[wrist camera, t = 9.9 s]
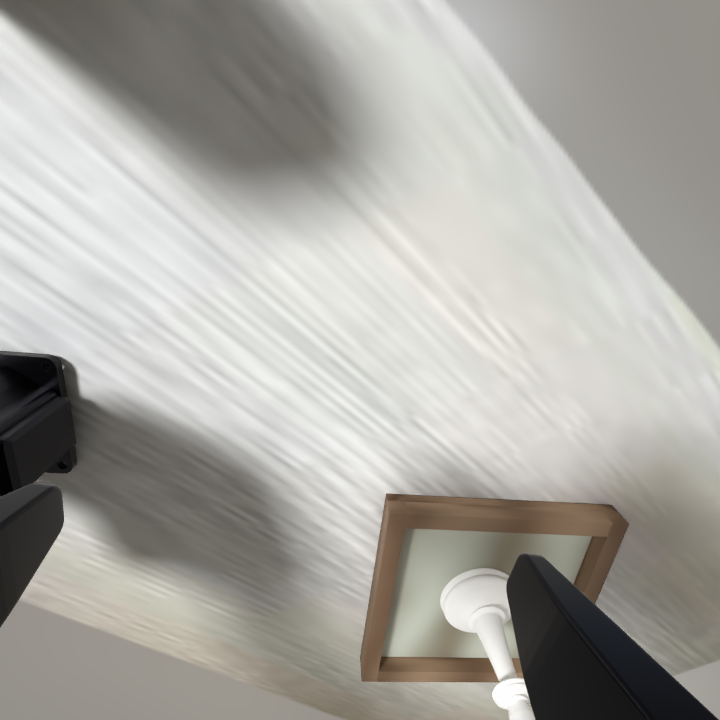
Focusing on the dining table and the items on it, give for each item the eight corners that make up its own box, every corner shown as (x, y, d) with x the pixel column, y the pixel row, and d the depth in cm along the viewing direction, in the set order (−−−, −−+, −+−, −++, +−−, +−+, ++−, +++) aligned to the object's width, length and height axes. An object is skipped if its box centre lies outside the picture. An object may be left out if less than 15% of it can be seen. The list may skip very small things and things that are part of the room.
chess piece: (502, 626, 28) (587, 841, 18) (431, 620, 27) (482, 840, 18) (526, 571, 26) (633, 778, 17) (451, 563, 25) (519, 774, 16)
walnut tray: (360, 656, 29) (361, 681, 28) (386, 493, 24) (389, 513, 23) (550, 658, 30) (561, 682, 29) (611, 505, 25) (628, 524, 24)
